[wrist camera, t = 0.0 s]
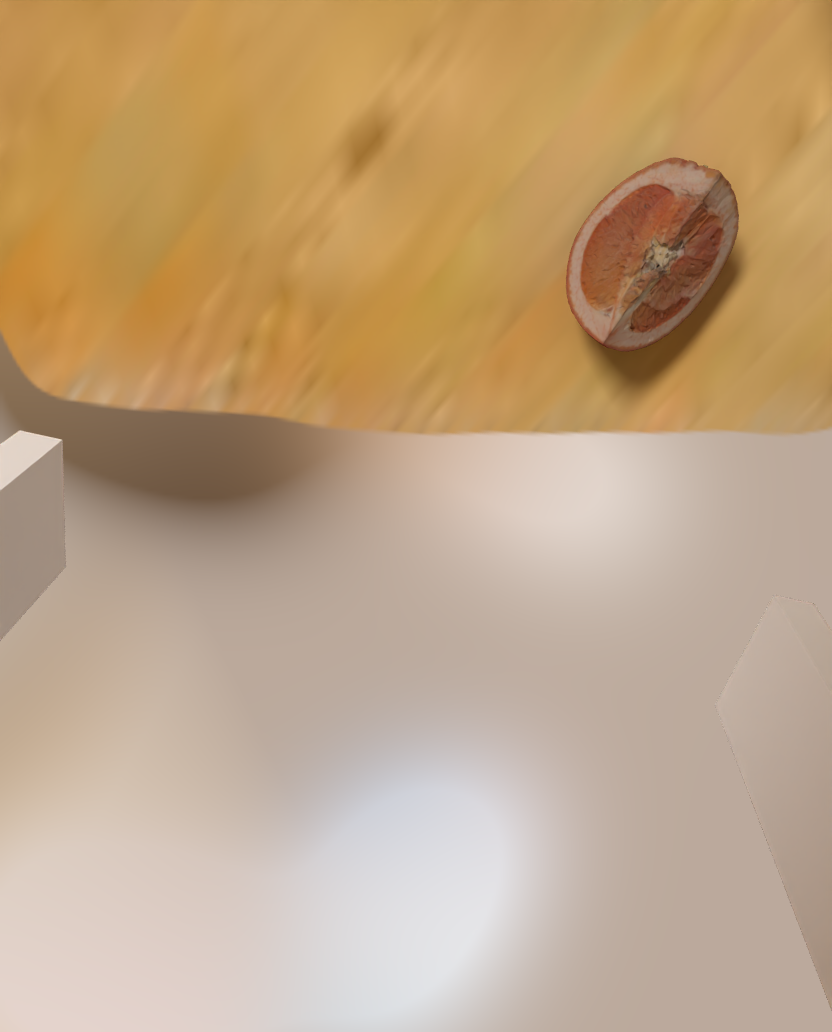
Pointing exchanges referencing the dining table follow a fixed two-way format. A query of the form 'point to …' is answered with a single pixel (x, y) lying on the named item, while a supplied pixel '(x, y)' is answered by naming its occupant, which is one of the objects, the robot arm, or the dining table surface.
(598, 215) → the fruit slice
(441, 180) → the dining table surface
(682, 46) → the dining table surface
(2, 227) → the dining table surface
